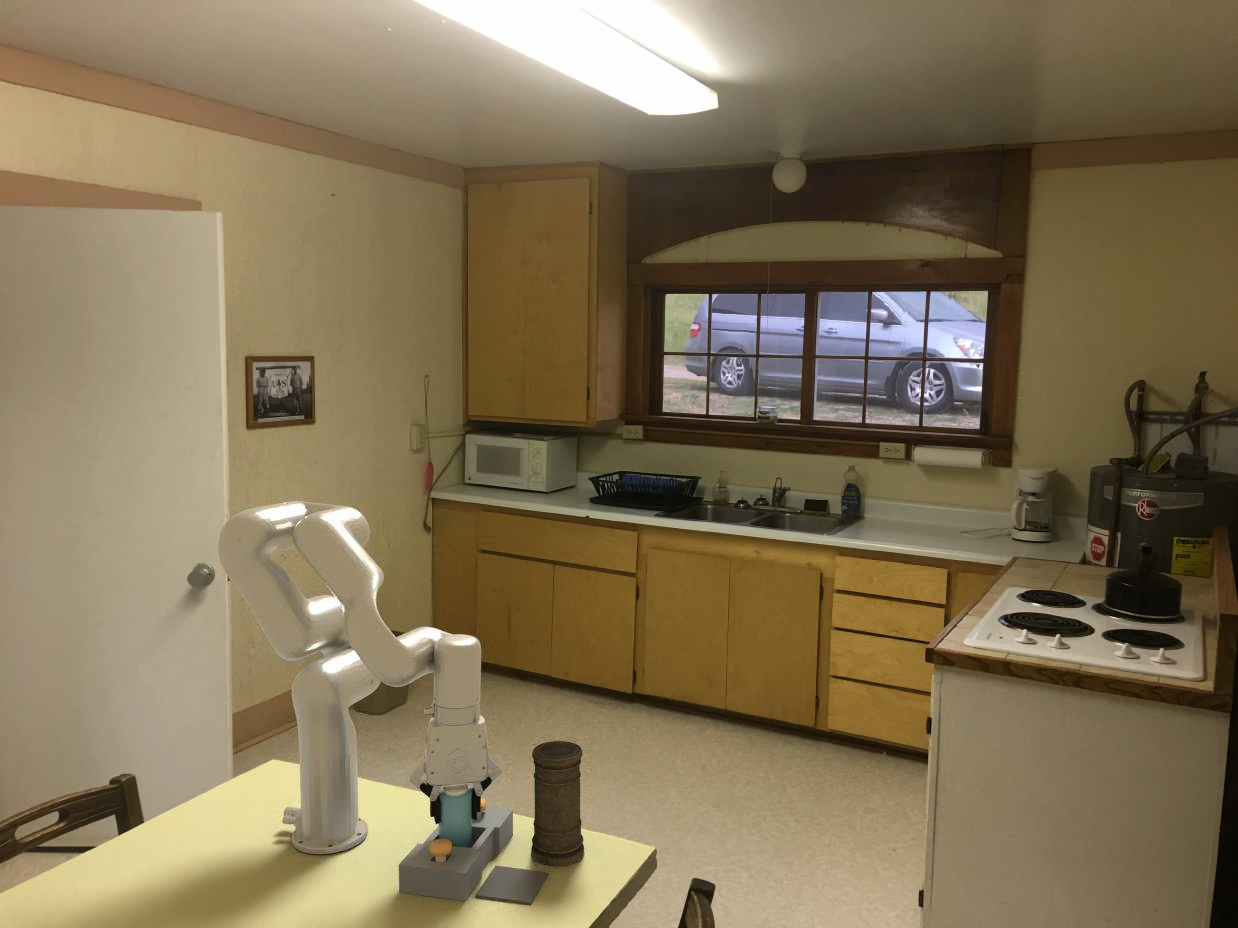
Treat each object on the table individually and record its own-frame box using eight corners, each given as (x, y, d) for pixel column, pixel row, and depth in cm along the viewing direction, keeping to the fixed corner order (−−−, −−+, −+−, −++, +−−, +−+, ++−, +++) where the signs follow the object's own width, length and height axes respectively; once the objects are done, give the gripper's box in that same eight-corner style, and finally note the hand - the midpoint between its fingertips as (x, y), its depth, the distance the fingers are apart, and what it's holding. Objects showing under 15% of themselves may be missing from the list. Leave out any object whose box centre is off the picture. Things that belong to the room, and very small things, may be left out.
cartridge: (440, 859, 151) (440, 795, 150) (436, 843, 156) (437, 781, 155) (473, 855, 153) (474, 791, 152) (469, 839, 158) (469, 777, 157)
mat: (475, 896, 144) (475, 894, 144) (495, 867, 153) (495, 865, 153) (530, 904, 142) (530, 901, 142) (548, 874, 151) (548, 871, 151)
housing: (399, 891, 145) (398, 864, 145) (454, 827, 166) (454, 802, 166) (465, 901, 143) (465, 872, 142) (513, 833, 164) (512, 809, 163)
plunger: (426, 885, 146) (425, 847, 145) (435, 874, 149) (434, 837, 149) (446, 888, 145) (446, 850, 145) (455, 877, 148) (454, 839, 148)
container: (577, 869, 152) (577, 762, 151) (524, 863, 154) (523, 757, 152) (589, 842, 161) (590, 741, 159) (539, 837, 163) (539, 737, 161)
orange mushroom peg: (463, 840, 160) (462, 805, 160) (470, 830, 164) (470, 796, 163) (482, 842, 160) (481, 807, 159) (489, 832, 163) (488, 798, 162)
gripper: (404, 724, 146) (403, 834, 148) (513, 715, 151) (510, 822, 153) (401, 707, 153) (400, 813, 155) (504, 699, 158) (502, 802, 160)
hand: (455, 816), depth 154 cm, fingers closed on cartridge, 5 cm apart
